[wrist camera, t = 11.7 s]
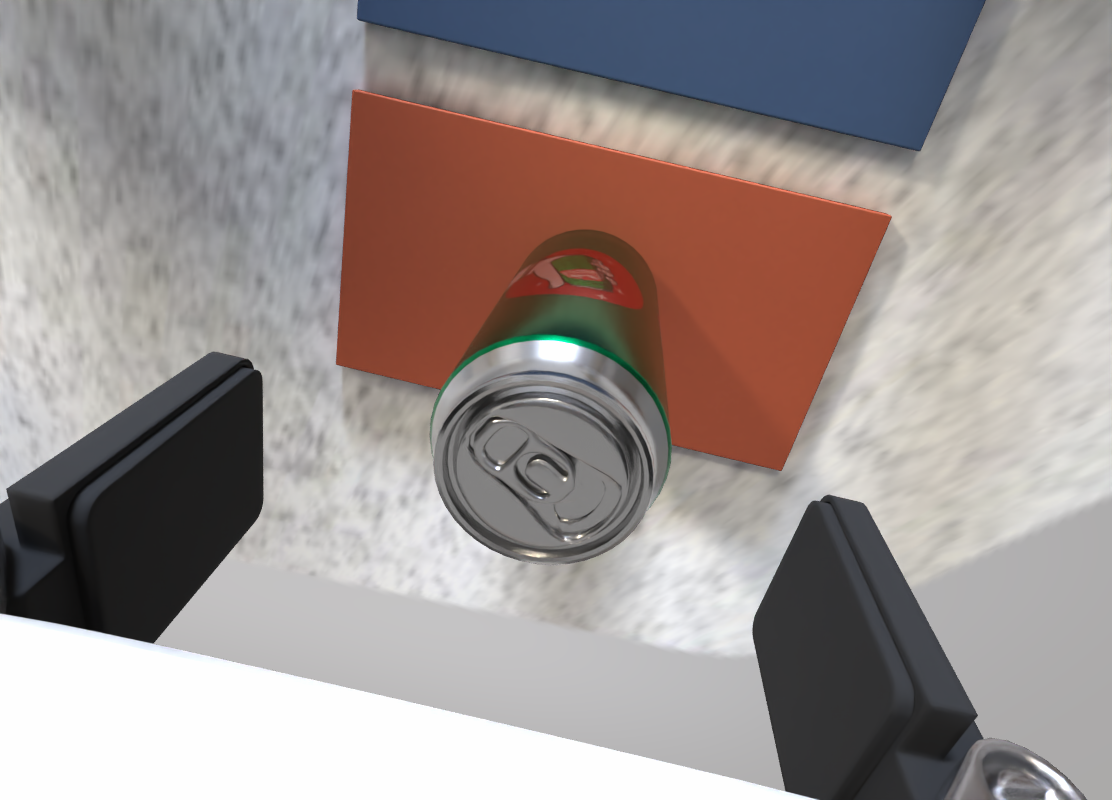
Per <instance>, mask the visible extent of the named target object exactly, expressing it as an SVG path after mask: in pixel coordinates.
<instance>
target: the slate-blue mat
mask: <svg viewBox="0 0 1112 800" xmlns="http://www.w3.org/2000/svg"><path fill="white" fill-rule="evenodd" d="M985 1H986V0H358V9H357V19H358V20H359V21H363V22H368V23H372V24H376V25H380V26H385V27H389V28H393V29H398V30H402V31H406V32H410V33H415V34H419V35H423V36H427V37H432V38H436V39H440V40H445V41H449V42H453V43H457V44H462V45H466V46H470V47H475V48H479V49H483V50H487V51H492V52H496V53H500V54H505V55H509V56H513V57H517V58H522V59H526V60H530V61H534V62H539V63H543V64H547V65H552V66H556V67H560V68H564V69H569V70H573V71H577V72H582V73H586V74H590V75H594V76H599V77H603V78H607V79H611V80H616V81H620V82H624V83H629V84H633V85H637V86H641V87H646V88H650V89H654V90H659V91H663V92H667V93H671V94H676V95H680V96H684V97H688V98H693V99H697V100H701V101H706V102H710V103H714V104H718V105H723V106H727V107H731V108H736V109H740V110H744V111H748V112H753V113H757V114H761V115H766V116H770V117H774V118H778V119H783V120H787V121H791V122H795V123H800V124H804V125H808V126H813V127H817V128H821V129H825V130H830V131H834V132H838V133H843V134H847V135H851V136H855V137H860V138H864V139H868V140H872V141H877V142H881V143H885V144H890V145H894V146H898V147H902V148H907V149H911V150H915V151H920V150H921V148H922V146H923V144H924V141H925V139H926V137H927V135H928V132H929V130H930V128H931V125H932V123H933V121H934V118H935V116H936V114H937V112H938V109H939V107H940V105H941V102H942V100H943V98H944V95H945V93H946V91H947V88H948V86H949V84H950V82H951V79H952V77H953V75H954V72H955V70H956V68H957V65H958V63H959V61H960V59H961V56H962V54H963V52H964V49H965V47H966V45H967V42H968V40H969V38H970V35H971V33H972V31H973V29H974V26H975V24H976V22H977V19H978V17H979V15H980V12H981V10H982V8H983V6H984V3H985Z"/></svg>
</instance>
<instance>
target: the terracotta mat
mask: <svg viewBox="0 0 1112 800" xmlns="http://www.w3.org/2000/svg"><path fill="white" fill-rule="evenodd" d="M891 218H892V216H890V215H888V214H886V213H882V212H878V211H873V210H869V209H865V208H861V207H856V206H852V205H848V204H844V203H839V202H835V201H831V200H826V199H822V198H818V197H814V196H809V195H805V194H801V193H797V192H792V191H788V190H784V189H780V188H775V187H771V186H767V185H763V184H758V183H754V182H750V181H746V180H741V179H737V178H733V177H729V176H724V175H720V174H716V173H711V172H707V171H703V170H699V169H694V168H690V167H686V166H682V165H677V164H673V163H669V162H665V161H660V160H656V159H652V158H648V157H643V156H639V155H635V154H631V153H626V152H622V151H618V150H614V149H609V148H605V147H601V146H596V145H592V144H588V143H584V142H579V141H575V140H571V139H567V138H562V137H558V136H554V135H550V134H545V133H541V132H537V131H533V130H528V129H524V128H520V127H516V126H511V125H507V124H503V123H499V122H494V121H490V120H486V119H481V118H477V117H473V116H469V115H464V114H460V113H456V112H452V111H447V110H443V109H439V108H435V107H430V106H426V105H422V104H418V103H413V102H409V101H405V100H401V99H396V98H392V97H388V96H384V95H379V94H375V93H371V92H366V91H362V90H353V91H352V106H351V123H350V139H349V156H348V173H347V189H346V206H345V223H344V239H343V256H342V273H341V289H340V306H339V323H338V339H337V356H336V365H340V366H344V367H348V368H352V369H357V370H361V371H365V372H369V373H373V374H378V375H382V376H386V377H390V378H394V379H398V380H403V381H407V382H411V383H415V384H419V385H424V386H428V387H432V388H436V389H440V390H441V388H442V387H443V385H444V384H445V382H446V380H447V379H448V377H449V376H450V374H451V373H452V371H453V370H454V368H455V367H456V365H457V364H458V362H459V361H460V359H461V357H462V356H463V354H464V353H465V351H466V350H467V348H468V347H469V345H470V344H471V342H472V341H473V339H474V338H475V336H476V334H477V333H478V331H479V330H480V328H481V327H482V325H483V324H484V322H485V321H486V319H487V318H488V316H489V315H490V313H491V311H492V310H493V308H494V307H495V305H496V304H497V302H498V301H499V299H500V298H501V296H502V295H503V293H504V291H505V290H506V288H507V287H508V285H509V284H510V282H511V281H512V279H513V278H514V276H515V275H516V273H517V272H518V270H519V268H520V267H521V265H522V264H523V262H524V261H525V260H526V258H527V257H528V255H529V254H530V253H531V252H532V251H533V250H534V249H535V248H536V247H537V246H539V245H540V244H541V243H543V242H544V241H545V240H547V239H549V238H551V237H553V236H555V235H557V234H560V233H563V232H566V231H572V230H578V229H591V230H597V231H603V232H606V233H609V234H612V235H614V236H616V237H618V238H620V239H622V240H624V241H625V242H627V243H628V244H629V245H631V246H632V247H633V248H634V249H635V250H636V251H637V252H638V253H639V254H640V255H641V256H642V257H643V259H644V260H645V262H646V263H647V264H648V266H649V268H650V270H651V272H652V274H653V277H654V280H655V284H656V287H657V296H658V306H659V316H660V327H661V337H662V347H663V358H664V368H665V378H666V389H667V399H668V410H669V420H670V430H671V441H672V445H675V446H679V447H683V448H687V449H691V450H695V451H700V452H704V453H708V454H712V455H716V456H721V457H725V458H729V459H733V460H737V461H741V462H746V463H750V464H754V465H758V466H762V467H767V468H771V469H775V470H779V471H782V469H783V467H784V464H785V462H786V460H787V457H788V455H789V453H790V450H791V448H792V446H793V444H794V441H795V439H796V437H797V434H798V432H799V430H800V427H801V425H802V423H803V420H804V418H805V416H806V414H807V411H808V409H809V407H810V404H811V402H812V400H813V397H814V395H815V393H816V391H817V388H818V386H819V384H820V381H821V379H822V377H823V374H824V372H825V370H826V368H827V365H828V363H829V361H830V358H831V356H832V354H833V351H834V349H835V347H836V344H837V342H838V340H839V338H840V335H841V333H842V331H843V328H844V326H845V324H846V321H847V319H848V317H849V315H850V312H851V310H852V308H853V305H854V303H855V301H856V298H857V296H858V294H859V292H860V289H861V287H862V285H863V282H864V280H865V278H866V275H867V273H868V271H869V268H870V266H871V264H872V262H873V259H874V257H875V255H876V252H877V250H878V248H879V245H880V243H881V241H882V239H883V236H884V234H885V232H886V229H887V227H888V225H889V222H890V220H891Z"/></svg>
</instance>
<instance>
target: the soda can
mask: <svg viewBox="0 0 1112 800" xmlns="http://www.w3.org/2000/svg"><path fill="white" fill-rule="evenodd" d="M430 443H431V452H432V456H433V459H434V461H433V465H434V474H435V480H436V484H437V487H438V491H439V494H440V496H441V498H442V500H443V502H444V504H445V506H446V508H447V509H448V511H449V512H450V514H451V515H452V517H453V518H454V520H455V521H456V522H457V523H458V524H459V525H460V526H461V527H462V528H463V529H464V530H465V531H466V532H467V533H468V534H469V535H471V536H472V537H473V538H474V539H475V540H477V541H478V542H480V543H481V544H483V545H485V546H486V547H488V548H489V549H491V550H493V551H495V552H498V553H500V554H502V555H504V556H507V557H510V558H513V559H516V560H519V561H524V562H529V563H535V564H547V565H558V564H570V563H575V562H580V561H585V560H587V559H590V558H593V557H596V556H599V555H601V554H603V553H605V552H607V551H608V550H610V549H612V548H614V547H615V546H616V545H618V544H619V543H621V542H622V541H623V540H625V539H626V538H627V537H628V536H629V535H630V533H631V532H632V531H633V530H634V529H635V528H636V527H637V525H638V524H639V522H640V521H641V519H642V518H643V516H644V515H645V512H646V511H647V510H648V509H649V508H650V507H651V506H652V504H653V503H654V501H655V500H656V498H657V497H658V495H659V494H660V492H661V490H662V488H663V485H664V483H665V481H666V479H667V475H668V471H669V467H670V463H671V452H672V441H671V430H670V420H669V410H668V399H667V389H666V378H665V368H664V358H663V347H662V337H661V327H660V316H659V306H658V296H657V287H656V284H655V280H654V277H653V274H652V272H651V270H650V268H649V266H648V264H647V263H646V262H645V260H644V259H643V257H642V256H641V255H640V254H639V253H638V252H637V251H636V250H635V249H634V248H633V247H632V246H631V245H629V244H628V243H627V242H625V241H624V240H622V239H620V238H618V237H616V236H614V235H612V234H609V233H606V232H603V231H597V230H591V229H578V230H572V231H566V232H563V233H560V234H557V235H555V236H553V237H551V238H549V239H547V240H545V241H544V242H543V243H541V244H540V245H539V246H537V247H536V248H535V249H534V250H533V251H532V252H531V253H530V254H529V255H528V257H527V258H526V260H525V261H524V262H523V264H522V265H521V267H520V268H519V270H518V272H517V273H516V275H515V276H514V278H513V279H512V281H511V282H510V284H509V285H508V287H507V288H506V290H505V291H504V293H503V295H502V296H501V298H500V299H499V301H498V302H497V304H496V305H495V307H494V308H493V310H492V311H491V313H490V315H489V316H488V318H487V319H486V321H485V322H484V324H483V325H482V327H481V328H480V330H479V331H478V333H477V334H476V336H475V338H474V339H473V341H472V342H471V344H470V345H469V347H468V348H467V350H466V351H465V353H464V354H463V356H462V357H461V359H460V361H459V362H458V364H457V365H456V367H455V368H454V370H453V371H452V373H451V374H450V376H449V377H448V379H447V380H446V382H445V384H444V385H443V387H442V388H441V390H440V393H439V395H438V397H437V399H436V402H435V404H434V408H433V412H432V416H431V423H430Z"/></svg>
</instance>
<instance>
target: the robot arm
mask: <svg viewBox="0 0 1112 800" xmlns="http://www.w3.org/2000/svg"><path fill="white" fill-rule="evenodd" d="M6 490H7V494H8V499H7V500H5V501H4V502H2V503H1V504H0V800H1087V799H1086V797H1085V796H1084V795H1083V794H1082V793H1081V792H1080V790H1079V789H1078V788H1077V787H1076V786H1075V785H1074V784H1073V783H1072V782H1071V781H1070V780H1069V779H1068V778H1067V777H1066V776H1065V775H1064V774H1063V773H1061V772H1060V771H1059V770H1058V769H1057V768H1055V767H1054V766H1053V765H1052V764H1050V763H1049V762H1048V761H1047V760H1045V759H1043V758H1042V757H1040V756H1038V755H1037V754H1035V753H1033V752H1032V751H1030V750H1029V749H1027V748H1025V747H1022V746H1020V745H1017V744H1015V743H1012V742H1010V741H1006V740H1001V739H995V738H987V739H983V737H982V735H981V733H980V731H979V729H978V727H977V725H976V723H975V722H974V720H975V719H976V717H977V716H978V715H977V713H976V711H975V709H974V708H973V705H972V704H971V702H970V700H969V698H968V696H967V694H966V692H965V690H964V689H963V687H962V685H961V683H960V681H959V679H958V678H957V675H956V674H955V672H954V670H953V668H952V666H951V664H950V662H949V660H948V659H947V657H946V655H945V653H944V651H943V650H942V647H941V645H940V644H939V642H938V640H937V638H936V636H935V634H934V632H933V631H932V629H931V627H930V625H929V623H928V621H927V619H926V617H925V615H924V614H923V612H922V610H921V608H920V606H919V604H918V603H917V600H916V599H915V597H914V595H913V593H912V591H911V589H910V587H909V586H908V584H907V582H906V580H905V578H904V576H903V574H902V572H901V571H900V569H899V567H898V565H897V563H896V561H895V559H894V557H893V556H892V554H891V552H890V550H889V548H888V546H887V544H886V542H885V541H884V539H883V537H882V535H881V533H880V531H879V529H878V527H877V526H876V524H875V522H874V520H873V518H872V516H871V514H870V512H869V511H868V509H867V507H866V506H865V505H864V503H861V502H857V501H853V500H849V499H844V498H840V497H836V496H832V495H826V496H824V497H823V498H822V499H821V501H820V502H819V501H812V502H811V503H810V504H809V505H808V507H807V509H806V511H805V513H804V515H803V517H802V519H801V521H800V523H799V526H798V528H797V530H796V532H795V534H794V536H793V538H792V540H791V542H790V544H789V546H788V548H787V550H786V552H785V554H784V557H783V559H782V561H781V563H780V565H779V567H778V569H777V571H776V573H775V575H774V577H773V579H772V581H771V583H770V585H769V588H768V590H767V592H766V594H765V596H764V598H763V600H762V602H761V604H760V606H759V608H758V610H757V612H756V615H755V617H754V622H753V640H754V644H755V649H756V654H757V659H758V663H759V668H760V673H761V677H762V682H763V687H764V692H765V696H766V701H767V706H768V711H769V715H770V720H771V725H772V730H773V734H774V739H775V744H776V748H777V753H778V757H779V762H780V767H781V772H782V777H783V781H784V786H785V791H786V792H785V791H781V790H777V789H774V788H769V787H766V786H762V785H758V784H754V783H750V782H746V781H742V780H738V779H734V778H729V777H725V776H721V775H717V774H713V773H708V772H704V771H700V770H696V769H692V768H688V767H684V766H679V765H675V764H671V763H667V762H663V761H658V760H654V759H650V758H645V757H642V756H637V755H633V754H629V753H624V752H621V751H616V750H612V749H608V748H603V747H600V746H596V745H591V744H587V743H583V742H579V741H575V740H571V739H566V738H562V737H558V736H553V735H549V734H545V733H541V732H536V731H531V730H528V729H523V728H519V727H515V726H511V725H506V724H502V723H497V722H494V721H489V720H485V719H481V718H477V717H472V716H468V715H464V714H459V713H454V712H451V711H446V710H442V709H438V708H434V707H429V706H425V705H421V704H416V703H412V702H408V701H403V700H399V699H394V698H390V697H386V696H382V695H377V694H373V693H369V692H364V691H360V690H356V689H352V688H347V687H342V686H338V685H334V684H329V683H325V682H321V681H316V680H312V679H308V678H303V677H299V676H294V675H290V674H285V673H281V672H277V671H272V670H268V669H263V668H259V667H254V666H250V665H246V664H241V663H237V662H233V661H228V660H224V659H219V658H215V657H211V656H206V655H202V654H197V653H193V652H189V651H184V650H179V649H175V648H170V647H166V646H161V645H157V644H154V642H155V641H156V640H157V639H158V637H159V636H160V635H161V634H162V633H163V631H164V630H165V629H166V628H167V627H168V626H169V624H170V623H171V622H172V621H173V619H174V618H175V617H176V616H177V615H178V614H179V612H180V611H181V610H182V609H183V608H184V606H185V605H186V604H187V603H188V602H189V600H190V599H191V598H192V597H193V596H194V594H195V593H196V592H197V591H198V589H199V588H200V587H201V586H202V585H203V583H204V582H205V581H206V580H207V579H208V577H209V576H210V575H211V574H212V573H213V572H214V570H215V569H216V568H217V567H218V566H219V564H220V563H221V562H222V561H223V560H224V558H225V557H226V556H227V555H228V554H229V552H230V551H231V550H232V549H233V548H234V546H235V545H236V544H237V543H238V542H239V540H240V539H241V538H242V537H243V536H244V534H245V533H246V532H247V531H248V530H249V528H250V527H251V526H252V525H253V524H254V522H255V521H256V520H257V518H258V516H259V514H260V512H261V509H262V505H263V383H262V375H261V373H260V372H259V371H258V370H254V367H253V365H252V362H251V361H250V360H248V359H244V358H240V357H236V356H231V355H227V354H223V353H218V352H211V353H209V354H207V355H206V356H204V357H203V358H201V359H200V360H198V361H197V362H195V363H194V364H192V365H191V366H189V367H188V368H186V369H185V370H183V371H182V372H180V373H179V374H177V375H176V376H174V377H173V378H171V379H170V380H168V381H167V382H165V383H164V384H162V385H161V386H159V387H158V388H156V389H155V390H153V391H152V392H150V393H149V394H147V395H146V396H145V397H143V398H142V399H140V400H139V401H137V402H136V403H134V404H133V405H131V406H130V407H128V408H127V409H125V410H124V411H122V412H121V413H119V414H118V415H116V416H115V417H113V418H112V419H110V420H109V421H107V422H106V423H104V424H103V425H101V426H100V427H98V428H97V429H95V430H94V431H92V432H91V433H89V434H88V435H86V436H85V437H83V438H82V439H80V440H79V441H77V442H76V443H74V444H73V445H71V446H70V447H68V448H67V449H65V450H64V451H62V452H61V453H59V454H58V455H57V456H55V457H54V458H52V459H51V460H49V461H48V462H46V463H45V464H43V465H42V466H40V467H39V468H37V469H36V470H34V471H33V472H31V473H30V474H28V475H27V476H25V477H24V478H22V479H21V480H19V481H18V482H16V483H15V484H13V485H12V486H10V487H9V488H7V489H6Z"/></svg>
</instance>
